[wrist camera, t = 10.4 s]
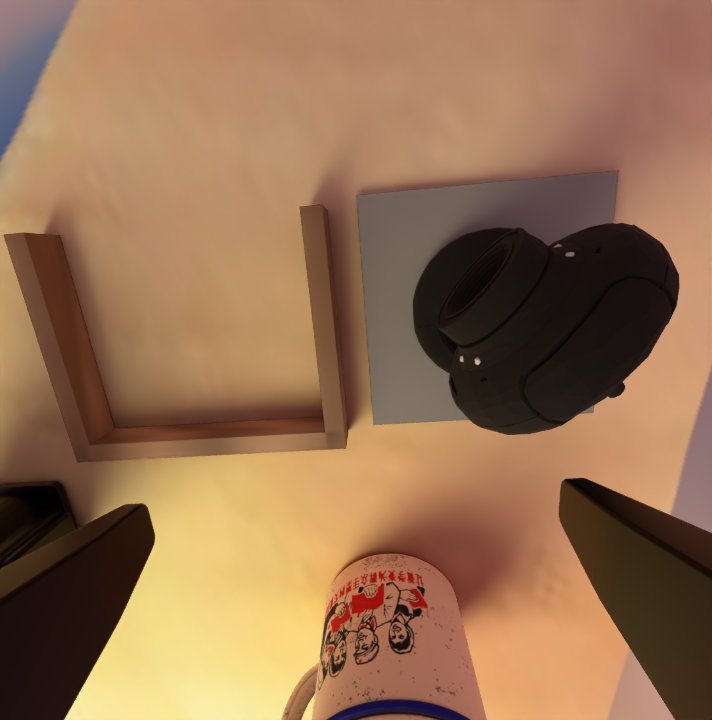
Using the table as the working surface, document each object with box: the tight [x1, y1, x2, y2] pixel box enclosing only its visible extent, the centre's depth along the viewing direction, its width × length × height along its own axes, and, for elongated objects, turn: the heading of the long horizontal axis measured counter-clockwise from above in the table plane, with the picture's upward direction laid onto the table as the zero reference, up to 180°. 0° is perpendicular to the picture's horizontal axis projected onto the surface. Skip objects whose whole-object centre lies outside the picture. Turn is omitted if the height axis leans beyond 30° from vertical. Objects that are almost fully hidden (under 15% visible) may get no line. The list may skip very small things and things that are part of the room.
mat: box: [357, 170, 619, 425], centre depth 18 cm, size 12×12×1 cm
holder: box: [4, 205, 348, 462], centre depth 19 cm, size 15×12×2 cm
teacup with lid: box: [281, 554, 487, 720], centre depth 19 cm, size 12×9×12 cm
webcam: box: [413, 223, 679, 435], centre depth 13 cm, size 8×8×10 cm
